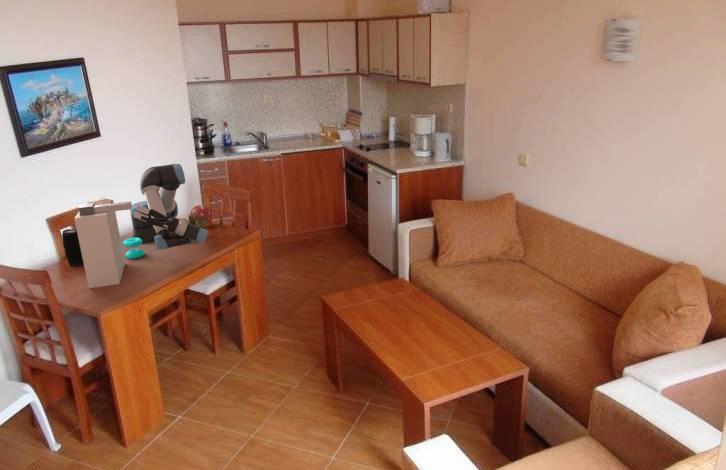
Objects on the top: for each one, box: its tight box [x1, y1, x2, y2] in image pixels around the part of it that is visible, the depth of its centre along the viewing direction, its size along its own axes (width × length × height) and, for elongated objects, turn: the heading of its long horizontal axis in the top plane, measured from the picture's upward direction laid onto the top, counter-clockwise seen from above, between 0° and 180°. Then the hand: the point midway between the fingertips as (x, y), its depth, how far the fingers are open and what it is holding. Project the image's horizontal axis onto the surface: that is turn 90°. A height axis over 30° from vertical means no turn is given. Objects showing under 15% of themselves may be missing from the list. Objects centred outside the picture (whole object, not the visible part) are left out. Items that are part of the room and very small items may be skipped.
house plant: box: [181, 213, 202, 226], centre depth 341 cm, size 14×14×16 cm
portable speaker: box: [61, 228, 84, 267], centre depth 306 cm, size 9×9×20 cm
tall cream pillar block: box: [74, 199, 126, 289], centre depth 286 cm, size 14×30×37 cm, turn 17°
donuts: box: [122, 237, 145, 260], centre depth 316 cm, size 10×10×10 cm
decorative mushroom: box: [189, 204, 212, 228], centre depth 363 cm, size 13×13×15 cm
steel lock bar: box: [78, 201, 133, 216], centre depth 275 cm, size 23×8×4 cm, turn 107°
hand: (135, 210), depth 279 cm, fingers open, 13 cm apart
